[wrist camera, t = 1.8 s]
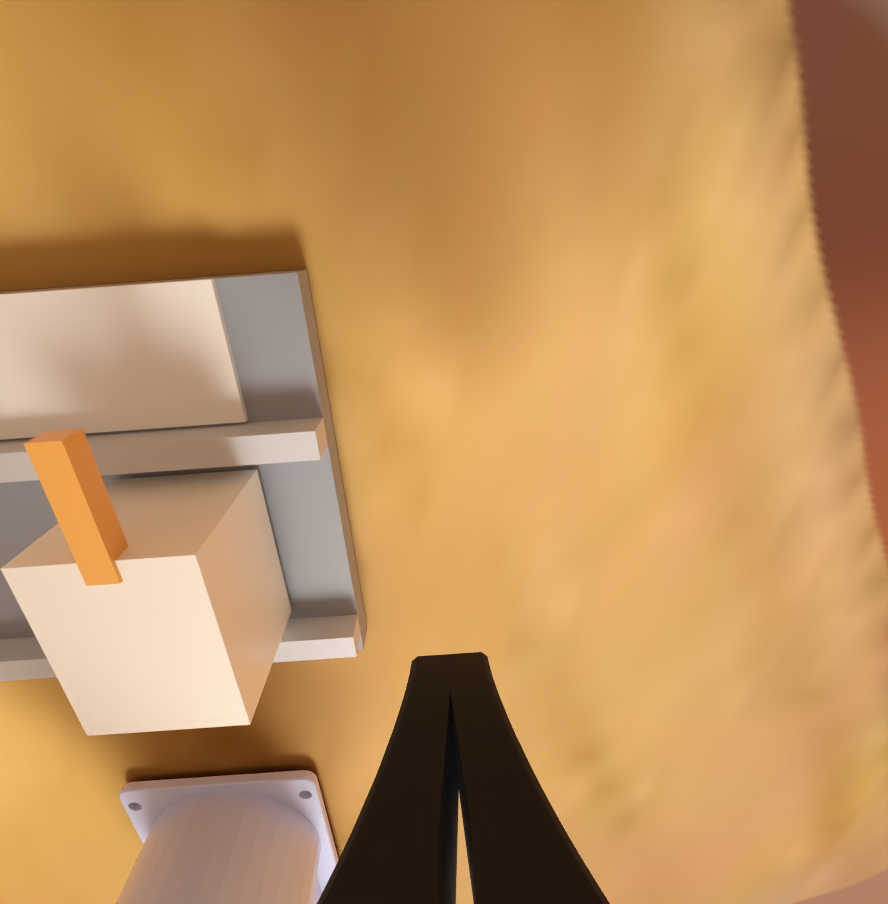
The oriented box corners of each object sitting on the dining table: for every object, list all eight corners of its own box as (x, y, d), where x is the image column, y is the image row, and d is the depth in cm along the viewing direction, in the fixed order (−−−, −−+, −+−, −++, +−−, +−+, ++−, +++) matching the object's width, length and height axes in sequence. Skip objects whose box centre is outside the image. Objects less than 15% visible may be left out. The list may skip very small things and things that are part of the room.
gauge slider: (291, 610, 16) (249, 728, 12) (165, 619, 16) (84, 739, 12) (234, 374, 13) (152, 434, 9) (77, 385, 13) (-67, 450, 9)
